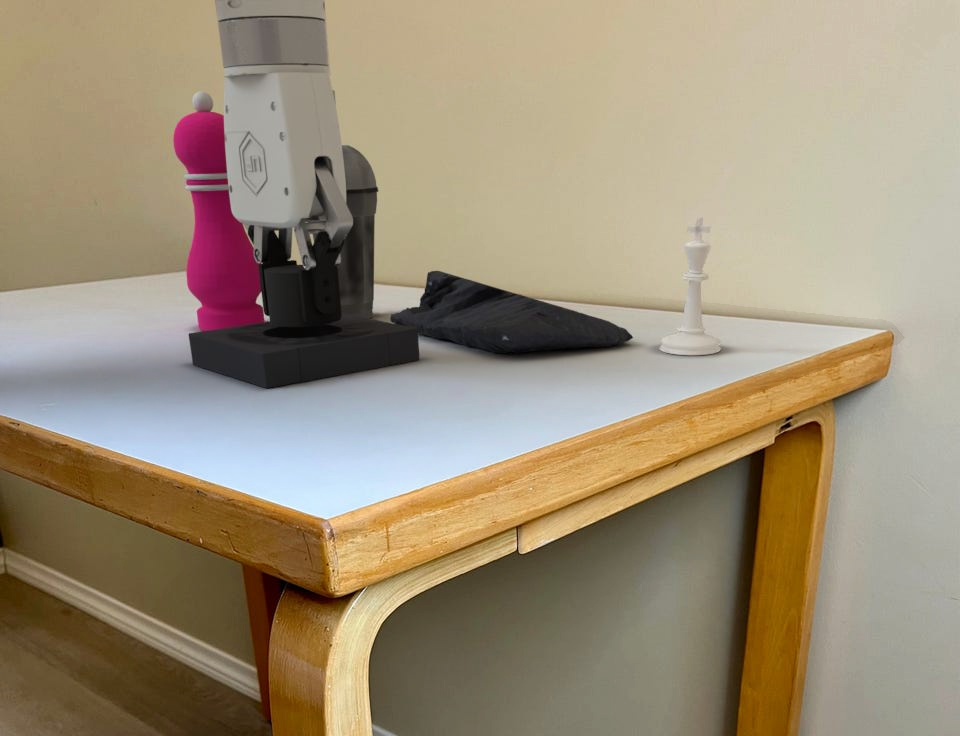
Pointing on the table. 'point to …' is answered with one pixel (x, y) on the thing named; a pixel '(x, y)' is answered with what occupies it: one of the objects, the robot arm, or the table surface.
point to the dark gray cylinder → (285, 296)
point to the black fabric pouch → (502, 319)
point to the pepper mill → (215, 226)
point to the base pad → (303, 350)
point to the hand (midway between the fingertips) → (302, 315)
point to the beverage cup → (358, 236)
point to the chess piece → (693, 303)
